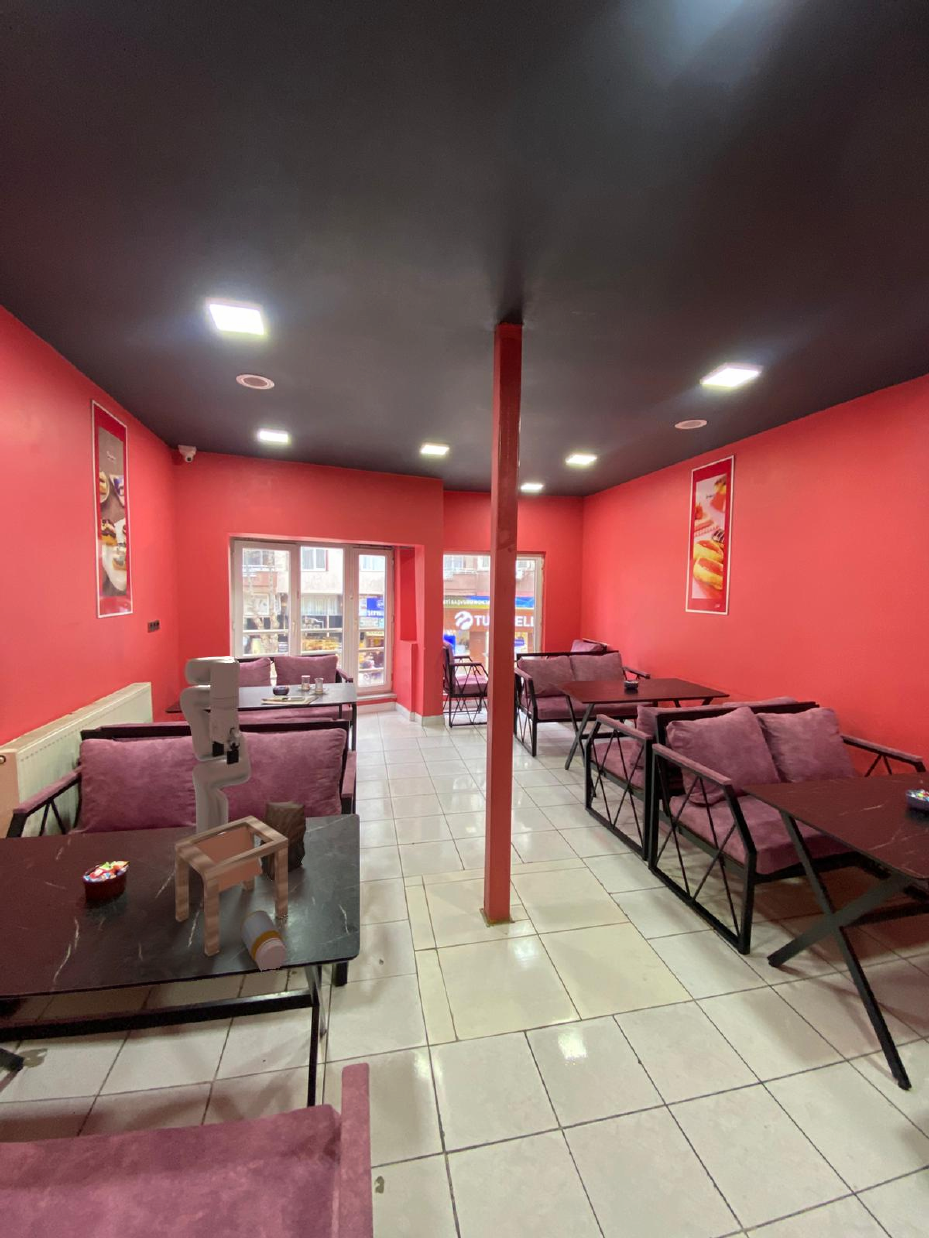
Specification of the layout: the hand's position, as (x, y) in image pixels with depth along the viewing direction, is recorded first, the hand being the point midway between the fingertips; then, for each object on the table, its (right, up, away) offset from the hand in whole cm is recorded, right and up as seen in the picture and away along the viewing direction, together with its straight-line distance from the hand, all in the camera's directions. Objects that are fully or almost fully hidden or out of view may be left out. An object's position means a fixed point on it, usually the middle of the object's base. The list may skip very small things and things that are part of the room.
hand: (225, 759), depth 141 cm
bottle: (+17, -36, -19) cm, 44 cm away
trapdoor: (+6, -24, -11) cm, 27 cm away
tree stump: (+11, -38, +11) cm, 41 cm away
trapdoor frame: (+8, -39, -12) cm, 41 cm away
